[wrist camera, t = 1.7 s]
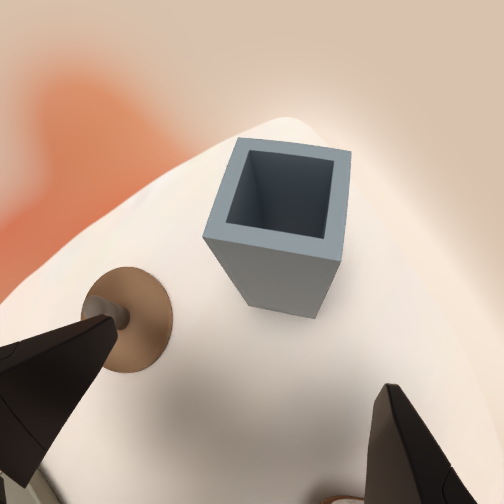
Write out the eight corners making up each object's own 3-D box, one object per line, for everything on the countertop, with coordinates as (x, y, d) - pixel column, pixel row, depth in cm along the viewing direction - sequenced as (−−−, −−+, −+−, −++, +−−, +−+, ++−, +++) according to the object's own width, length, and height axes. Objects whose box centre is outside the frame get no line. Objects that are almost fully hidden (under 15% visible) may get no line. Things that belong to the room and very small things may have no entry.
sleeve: (314, 318, 20) (341, 261, 9) (248, 305, 22) (202, 236, 11) (325, 255, 22) (351, 151, 11) (263, 245, 23) (238, 137, 12)
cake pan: (90, 483, 17) (61, 494, 12) (97, 596, 8) (81, 608, 4) (-27, 384, 21) (-50, 380, 17) (-16, 504, 13) (-34, 506, 9)
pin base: (162, 384, 20) (127, 387, 15) (78, 356, 21) (38, 349, 17) (182, 275, 23) (154, 250, 18) (98, 264, 25) (64, 242, 20)
